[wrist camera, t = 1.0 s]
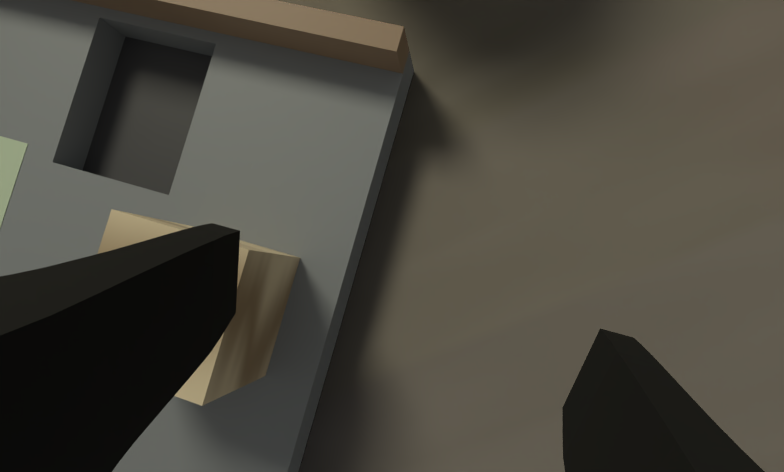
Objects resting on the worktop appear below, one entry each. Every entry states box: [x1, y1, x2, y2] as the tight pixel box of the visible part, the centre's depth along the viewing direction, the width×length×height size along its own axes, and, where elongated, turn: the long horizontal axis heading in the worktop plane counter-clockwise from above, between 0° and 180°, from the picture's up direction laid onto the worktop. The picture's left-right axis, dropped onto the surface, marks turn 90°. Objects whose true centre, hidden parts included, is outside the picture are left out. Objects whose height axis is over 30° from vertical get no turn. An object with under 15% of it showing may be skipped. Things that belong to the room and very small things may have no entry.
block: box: [97, 209, 300, 406], centre depth 18 cm, size 5×5×5 cm
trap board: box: [0, 0, 414, 472], centre depth 21 cm, size 24×24×5 cm
